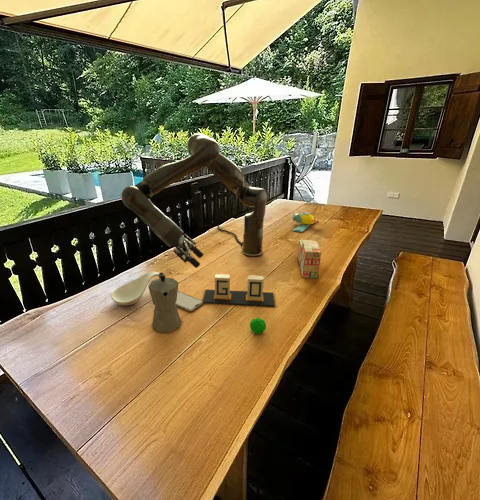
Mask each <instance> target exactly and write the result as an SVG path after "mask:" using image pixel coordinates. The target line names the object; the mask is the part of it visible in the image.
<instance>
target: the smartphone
mask: <svg viewBox="0 0 480 500" xmlns="http://www.w3.org/2000/svg"><path fill="white" fill-rule="evenodd" d="M175 304H176V306H177V307H178V308H181V309H183V310H186V311H188V312H193V311H194V310H196V309H197V308H199V307H200V306H201V305H202V304H204V303H203V300H202V299H199V298H197V297H193V296H192V295H189V294H186V293H183V292H180V291H179V290H178V291H177V301H176V303H175Z"/></svg>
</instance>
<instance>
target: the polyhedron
mask: <svg viewBox="0 0 480 500" xmlns="http://www.w3.org/2000/svg"><path fill="white" fill-rule="evenodd" d="M249 329H250V330H251V332H252V333H254V334H255V335H259V334H263V333H264V332H265V331H266V329H267V324H266V321H265V320H264V319H263V318H261V317H256V318H255V317H254V318H252V320H251V321H250V322H249Z"/></svg>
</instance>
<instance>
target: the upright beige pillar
mask: <svg viewBox="0 0 480 500" xmlns="http://www.w3.org/2000/svg"><path fill="white" fill-rule="evenodd" d="M246 291H247V299H250V300H262V297H263V292H264V275H249V274H248V275H247V290H246Z"/></svg>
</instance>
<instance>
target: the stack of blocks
mask: <svg viewBox="0 0 480 500" xmlns="http://www.w3.org/2000/svg"><path fill="white" fill-rule="evenodd" d="M297 251H298V253H297V259H298V264H299V268H300V273H301V277H302V278H305V279H318V276H319V268H320V263H321V257H322V250H321V248H320V246H319V244H318V242H317V241H316V240H313V239H312V240H310V239H299V240H298V250H297Z"/></svg>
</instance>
